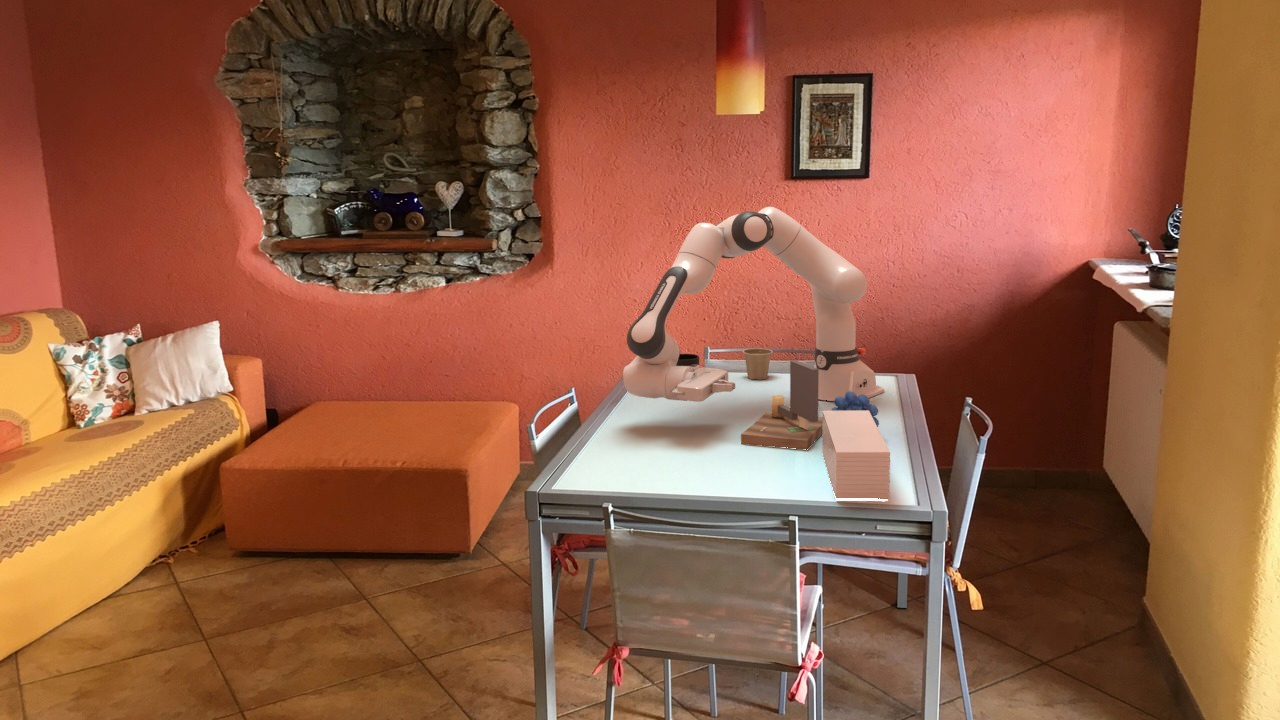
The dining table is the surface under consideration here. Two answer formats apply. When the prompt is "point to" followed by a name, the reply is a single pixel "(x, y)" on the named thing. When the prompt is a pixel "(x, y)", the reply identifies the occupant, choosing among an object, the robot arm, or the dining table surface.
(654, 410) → the dining table surface
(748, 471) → the dining table surface
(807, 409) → the paddle
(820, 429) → the wooden cutting board
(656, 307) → the robot arm
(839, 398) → the grapes
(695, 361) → the mug
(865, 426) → the stack of papers
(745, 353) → the flower pot
